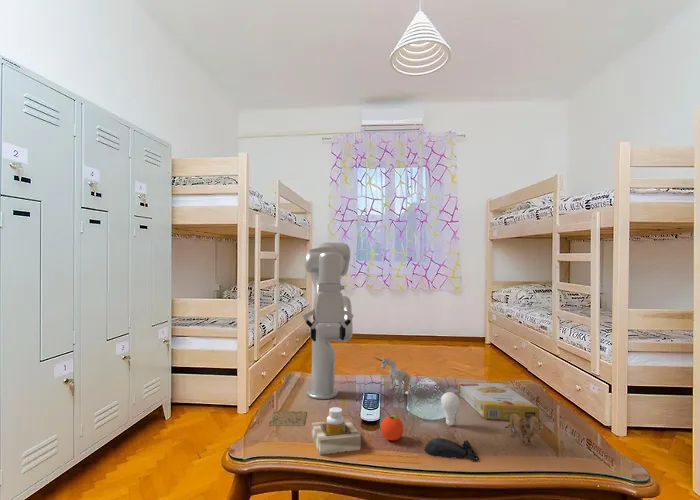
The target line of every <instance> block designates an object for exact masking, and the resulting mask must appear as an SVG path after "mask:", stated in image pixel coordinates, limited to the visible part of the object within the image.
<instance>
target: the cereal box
mask: <svg viewBox="0 0 700 500" xmlns="http://www.w3.org/2000/svg"><path fill="white" fill-rule="evenodd" d="M457 387H458V388H457V389H458V392H457V393H458V395H459V396H460V397H462V399H464V400H465V401H466V402H467V404H469V405H470V406H471V407H472V408H473V410H475V411H476V412H477V413H478V414H479V415H480V416H481V417H482V418H484V419H485V420H499V421H500V420H505V421H506V420H507V421H510V416H511V415H512V414H513V413H515V414H518V415H519V416H520V418H521V419H522V418H526V417H531V416H532V417H536V418H537V419H538V421H539V420H540V419H539V417H540V408H539V407H538V406H536V405H535V404H533V403H532V402H530V401H529V400H528V399H526V398H524V396H523V395H522V396H521V395H520V394H519V393H517V392H516V391H514V390H513V389H511V387H508V386H507V385H506V384H504V383H501V382H499V383H497V382H496V383H493V382H490V383H489V382H486V383H485V382H458V386H457Z"/></svg>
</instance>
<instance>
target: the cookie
mask: <svg viewBox="0 0 700 500" xmlns="http://www.w3.org/2000/svg"><path fill="white" fill-rule="evenodd" d="M307 412H308V411H302V410H300V411H293V410H292V411H281V410H278V411H274V412H273V414H272V416H271V419H270V421H269V423H268V426H270V427H304V426H305V425H306V419H307V414H308V413H307Z"/></svg>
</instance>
